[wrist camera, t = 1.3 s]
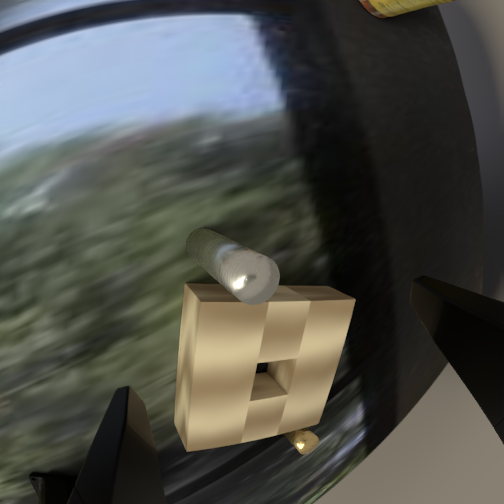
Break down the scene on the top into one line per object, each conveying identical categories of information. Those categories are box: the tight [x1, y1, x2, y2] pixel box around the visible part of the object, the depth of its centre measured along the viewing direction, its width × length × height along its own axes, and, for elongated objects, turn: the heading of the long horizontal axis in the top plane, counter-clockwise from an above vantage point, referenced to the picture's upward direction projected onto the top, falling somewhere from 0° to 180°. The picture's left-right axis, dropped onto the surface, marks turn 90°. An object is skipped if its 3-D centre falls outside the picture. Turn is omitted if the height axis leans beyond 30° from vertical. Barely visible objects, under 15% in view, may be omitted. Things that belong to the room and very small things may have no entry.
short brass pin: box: [283, 427, 319, 454], centre depth 32 cm, size 3×3×4 cm
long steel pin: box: [186, 228, 280, 305], centre depth 20 cm, size 3×3×9 cm
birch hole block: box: [174, 283, 356, 452], centre depth 27 cm, size 14×14×4 cm
